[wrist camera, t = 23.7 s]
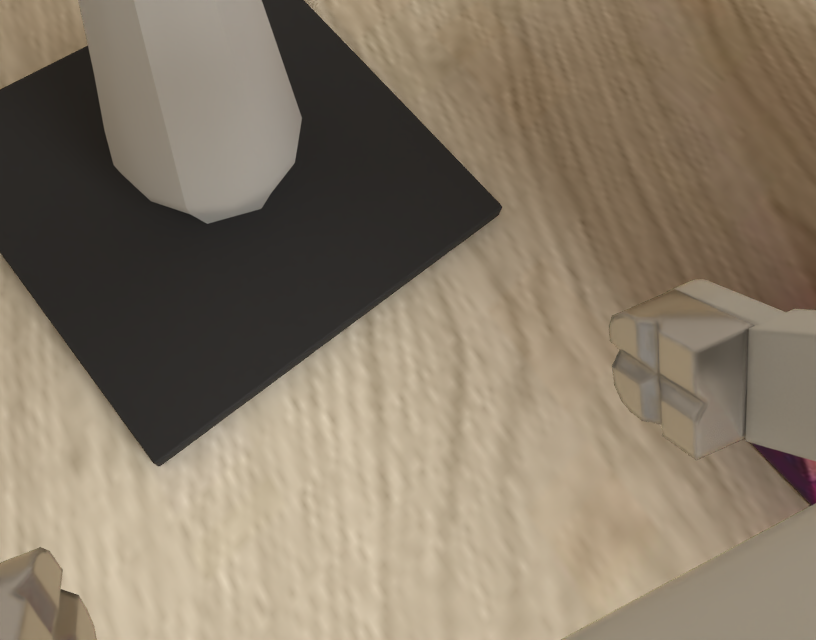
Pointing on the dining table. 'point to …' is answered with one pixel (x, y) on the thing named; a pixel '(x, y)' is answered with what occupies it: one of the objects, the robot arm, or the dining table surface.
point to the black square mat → (223, 236)
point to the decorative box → (794, 470)
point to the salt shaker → (193, 101)
